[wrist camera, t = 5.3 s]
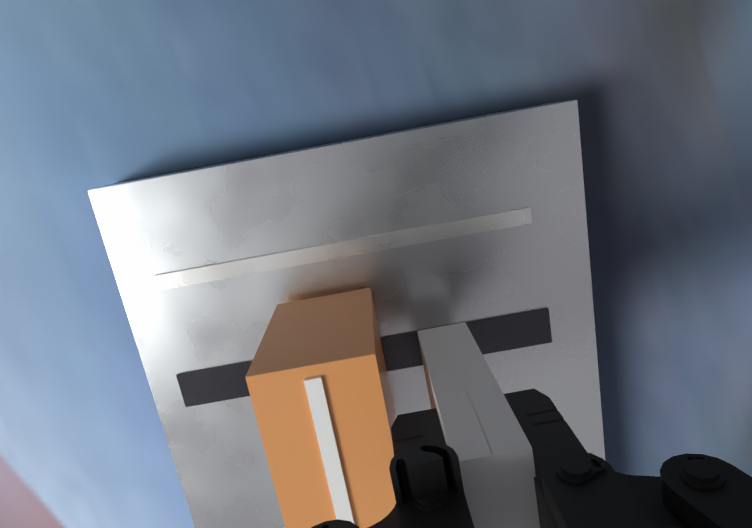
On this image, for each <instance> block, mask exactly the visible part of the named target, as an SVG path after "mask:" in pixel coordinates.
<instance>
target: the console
mask: <svg viewBox="0 0 752 528" xmlns="http://www.w3.org/2000/svg"><path fill="white" fill-rule="evenodd" d="M88 194H89V197H90V200H91V203H92V206H93V210H94V213H95V216H96V219H97V222H98V225H99V228H100V232H101V235H102V238H103V241H104V244H105V247H106V250H107V253H108V257H109V260H110V263H111V266H112V269H113V272H114V275H115V278H116V282H117V285H118V288H119V291H120V294H121V297H122V300H123V304H124V307H125V310H126V313H127V316H128V319H129V322H130V325H131V329H132V332H133V335H134V338H135V341H136V344H137V347H138V351H139V354H140V357H141V360H142V363H143V366H144V369H145V372H146V376H147V379H148V382H149V385H150V388H151V391H152V394H153V397H154V401H155V404H156V407H157V410H158V413H159V416H160V419H161V423H162V426H163V429H164V432H165V435H166V438H167V441H168V444H169V448H170V451H171V454H172V457H173V460H174V463H175V466H176V470H177V473H178V476H179V479H180V482H181V485H182V488H183V491H184V495H185V498H186V501H187V504H188V507H189V510H190V513H191V517H192V520H193V523H194V526H195V528H285V524H284V521H283V517H282V513H281V509H280V506H279V502H278V498H277V494H276V491H275V487H274V483H273V479H272V476H271V472H270V468H269V464H268V461H267V457H266V453H265V449H264V446H263V442H262V438H261V434H260V431H259V427H258V423H257V419H256V416H255V412H254V408H253V404H252V401H251V397H250V393H249V389H248V386H247V382H246V378H245V376H246V374H247V372H248V370H249V367H250V365H251V363H252V361H253V358H254V356H255V354H256V352H257V349H258V347H259V345H260V342H261V340H262V338H263V336H264V333H265V331H266V329H267V327H268V324H269V322H270V320H271V317H272V315H273V313H274V311H275V308H276V306H277V304H282V303H288V302H293V301H299V300H304V299H310V298H315V297H321V296H327V295H332V294H338V293H343V292H349V291H354V290H360V289H365V288H371V292H372V297H373V302H374V308H375V313H376V318H377V323H378V329H379V334H380V339H381V344H382V350H383V355H384V360H385V365H386V371H387V376H388V381H389V386H390V392H391V397H392V402H393V407H394V413H395V418H396V417H397V415H401V414H406V413H411V412H417V411H422V410H428V409H431V406H430V400H429V395H428V389H427V383H426V378H425V372H424V367H423V361H422V355H421V350H420V344H419V339H418V333H417V331H420V330H426V329H431V328H436V327H442V326H447V325H452V324H458V323H463V322H465V323H466V325H467V326H468V328H469V330H470V332H471V334H472V336H473V338H474V340H475V341H476V343H477V345H478V347H479V349H480V351H481V353H482V355H483V356H484V358H485V360H486V362H487V364H488V366H489V368H490V370H491V372H492V373H493V375H494V377H495V379H496V381H497V383H498V385H499V387H500V388H501V390H502V392H503V394H506V393H512V392H517V391H523V390H528V389H533V388H534V389H536V390H538V391H539V392H541V393H543V394H545V395H546V396H548V397H549V398H550V399H551V401H552V402H553V403H554V405H555V406H556V408H557V410H558V411H559V412H560V414H561V415H562V416H563V418H564V421H566V422H567V424H568V425H569V427H570V428H571V429H572V431H573V432H574V434H575V435H576V437H577V438H578V440H579V441H580V442H581V444H582V445H583V447H584V448H585V450H586V451H587V453H592V454H594V455H596V456H598V457H601V458H603V459H604V460H605V448H604V436H603V423H602V410H601V397H600V384H599V371H598V359H597V346H596V333H595V320H594V307H593V294H592V282H591V269H590V256H589V243H588V230H587V217H586V204H585V192H584V179H583V166H582V153H581V140H580V127H579V115H578V102H577V100H570V101H559V102H551V103H545V104H540V105H535V106H529V107H524V108H518V109H513V110H508V111H502V112H497V113H491V114H486V115H481V116H475V117H470V118H464V119H459V120H453V121H448V122H443V123H437V124H432V125H426V126H421V127H416V128H410V129H405V130H399V131H394V132H389V133H383V134H378V135H372V136H367V137H362V138H356V139H351V140H345V141H340V142H335V143H329V144H324V145H318V146H313V147H308V148H302V149H297V150H291V151H286V152H281V153H275V154H270V155H264V156H259V157H254V158H248V159H243V160H237V161H232V162H227V163H221V164H216V165H210V166H205V167H200V168H194V169H189V170H183V171H178V172H173V173H167V174H162V175H156V176H151V177H146V178H140V179H135V180H129V181H124V182H119V183H114V184H110V185H106V186H103V187H99V188H95V189H91V190H88Z"/></svg>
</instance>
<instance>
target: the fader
mask: <svg viewBox="0 0 752 528" xmlns="http://www.w3.org/2000/svg"><path fill="white" fill-rule="evenodd" d="M245 378H246V382H247V386H248V389H249V393H250V397H251V401H252V404H253V408H254V412H255V416H256V419H257V423H258V427H259V431H260V434H261V438H262V442H263V446H264V449H265V453H266V457H267V461H268V464H269V468H270V472H271V476H272V479H273V483H274V487H275V491H276V494H277V498H278V502H279V506H280V509H281V513H282V517H283V521H284V524H285V528H311V527H313V526H315V525H318V524H320V523H322V522H324V521H330V520H337V519H339V520H345V521H350V522H352V523H354V524H355V525H357V526H358V527H359V528H368V527H370V526H372V525H374V524H376V523H377V522H379V521H381V520H382V519H384V518H385V517H386V516H387V515H388V514H389V513H390V512H391V511H392V509H393V508H394V507H395V504H396V499H395V494H394V490H393V485H392V480H391V475H390V470H389V467H390V462H391V459H392V458H393V457H394V452H393V442H392V433H391V427H392V425H393V423H394V421H395V419H396V418H395V413H394V407H393V402H392V397H391V392H390V386H389V381H388V376H387V371H386V365H385V360H384V355H383V350H382V344H381V339H380V334H379V329H378V323H377V318H376V313H375V308H374V302H373V297H372V292H371V288H365V289H360V290H354V291H349V292H343V293H338V294H332V295H327V296H321V297H315V298H310V299H304V300H299V301H293V302H288V303H282V304H277V306H276V308H275V311H274V313H273V315H272V317H271V320H270V322H269V324H268V327H267V329H266V331H265V333H264V336H263V338H262V340H261V342H260V345H259V347H258V349H257V352H256V354H255V356H254V358H253V361H252V363H251V365H250V367H249V370H248V372H247V374H246V376H245Z"/></svg>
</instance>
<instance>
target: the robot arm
mask: <svg viewBox="0 0 752 528" xmlns="http://www.w3.org/2000/svg"><path fill="white" fill-rule="evenodd" d="M417 333H418V339H419V344H420V350H421V355H422V361H423V367H424V372H425V378H426V383H427V389H428V395H429V400H430V406H431V409H428V410H422V411H417V412H411V413H406V414H401V415H397V417H396V419H395V421H394V423H393V425H392V427H391V433H392V442H393V452H394V457H393V458H392V459H391V462H390V467H389V470H390V475H391V480H392V485H393V490H394V494H395V499H396V504H395V507H394V508H393V509H392V511H391V512H390V513H389V514H388V515H387V516H386V517H385V518H384V519H382V520H381V521H379V522H377V523H376V524H374V525H372V526H370V527H368V528H752V477H750V476H749V475H747V474H746V473H744V472H743V471H741V470H739V469H738V468H736V467H735V466H733V465H731V464H729V463H727V462H725V461H723V460H721V459H719V458H715V457H711V456H707V455H703V454H683V455H678V456H673V457H671V458H670V459H668V460H667V461H665V462H664V463H663V465H662V467H661V469H660V477H654V476H634V475H625V474H621V473H617V472H615V471H614V469H613V468H612V467H611V466H610V465H609V464H608V463H607V462H606V461H605V460H604V459H603V458H601V457H598V456H596V455H594V454H592V453H587V451H586V450H585V448H584V447H583V445H582V444H581V442H580V441H579V440H578V438H577V437H576V435H575V434H574V432H573V431H572V429H571V428H570V427H569V425H568V424H567V422H566V421H564V418H563V416H562V415H561V414H560V412H559V411H558V410H557V408H556V406H555V405H554V403H553V402H552V401H551V399H550V398H549V397H548V396H546V395H545V394H543V393H541V392H539V391H538V390H536V389H534V388H533V389H528V390H523V391H517V392H512V393H506V394H503V392H502V390H501V388H500V387H499V385H498V383H497V381H496V379H495V377H494V375H493V373H492V372H491V370H490V368H489V366H488V364H487V362H486V360H485V358H484V356H483V355H482V353H481V351H480V349H479V347H478V345H477V343H476V341H475V340H474V338H473V336H472V334H471V332H470V330H469V328H468V326H467V325H466V323H465V322H463V323H458V324H452V325H447V326H442V327H436V328H431V329H426V330H420V331H417ZM311 528H359V527H358V526H357V525H355V524H354V523H352V522H350V521H345V520H339V519H337V520H330V521H324V522H322V523H320V524H318V525H315V526H313V527H311Z"/></svg>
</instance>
